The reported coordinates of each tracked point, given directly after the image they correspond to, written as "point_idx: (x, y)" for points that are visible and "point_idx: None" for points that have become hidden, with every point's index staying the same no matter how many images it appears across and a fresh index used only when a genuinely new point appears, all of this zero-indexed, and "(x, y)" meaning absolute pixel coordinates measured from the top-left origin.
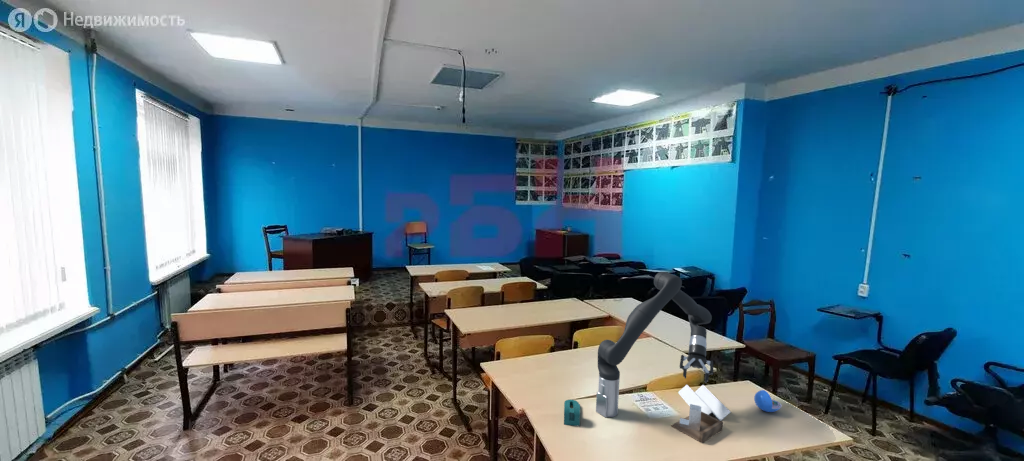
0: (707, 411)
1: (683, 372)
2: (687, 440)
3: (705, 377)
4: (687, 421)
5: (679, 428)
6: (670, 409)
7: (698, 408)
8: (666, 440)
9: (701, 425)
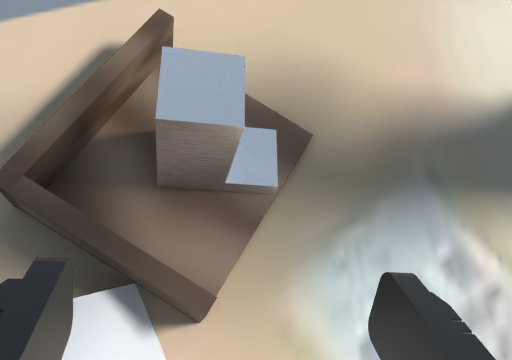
0: (82, 328)
1: (467, 335)
2: (226, 48)
3: (45, 296)
4: (233, 163)
5: (269, 119)
6: (340, 337)
7: (180, 80)
8: (314, 23)
9: (145, 197)
